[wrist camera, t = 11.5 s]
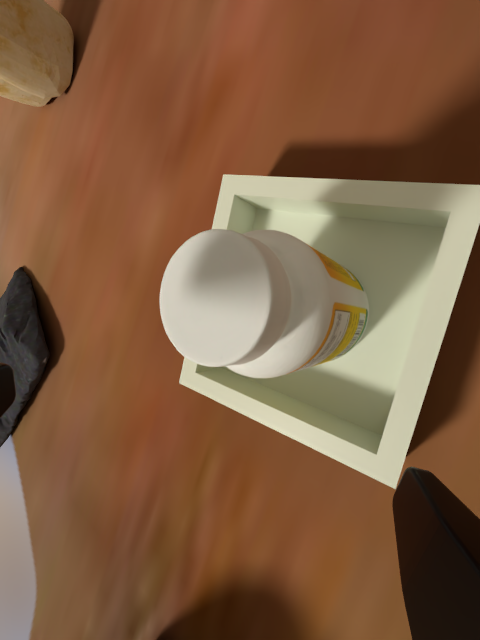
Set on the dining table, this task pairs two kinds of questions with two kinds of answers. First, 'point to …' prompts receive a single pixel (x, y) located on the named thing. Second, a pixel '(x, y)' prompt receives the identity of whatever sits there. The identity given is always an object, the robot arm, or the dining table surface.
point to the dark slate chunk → (20, 345)
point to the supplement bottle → (260, 303)
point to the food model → (34, 52)
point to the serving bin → (384, 309)
